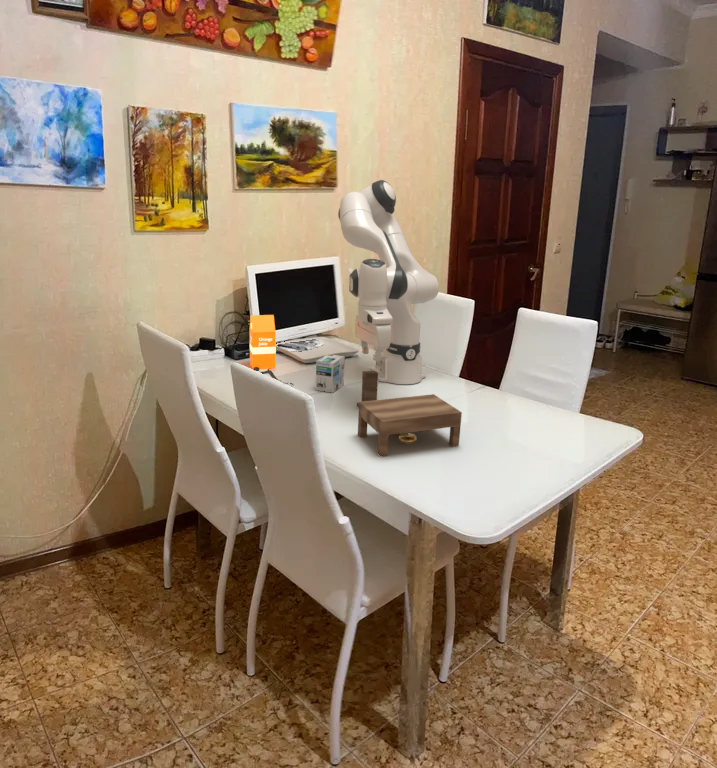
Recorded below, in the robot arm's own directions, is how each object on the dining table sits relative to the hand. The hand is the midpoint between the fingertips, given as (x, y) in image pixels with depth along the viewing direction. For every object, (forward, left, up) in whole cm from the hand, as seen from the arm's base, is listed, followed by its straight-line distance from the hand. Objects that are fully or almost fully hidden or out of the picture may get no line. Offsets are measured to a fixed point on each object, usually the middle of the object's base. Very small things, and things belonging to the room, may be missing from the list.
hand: (370, 357), depth 200 cm
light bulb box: (-23, -5, -17) cm, 29 cm away
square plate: (-67, +4, -18) cm, 70 cm away
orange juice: (-55, -21, -17) cm, 62 cm away
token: (+28, 0, -17) cm, 33 cm away
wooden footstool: (+28, 0, -17) cm, 33 cm away
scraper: (+9, 0, -17) cm, 19 cm away
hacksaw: (-40, -21, -18) cm, 49 cm away
